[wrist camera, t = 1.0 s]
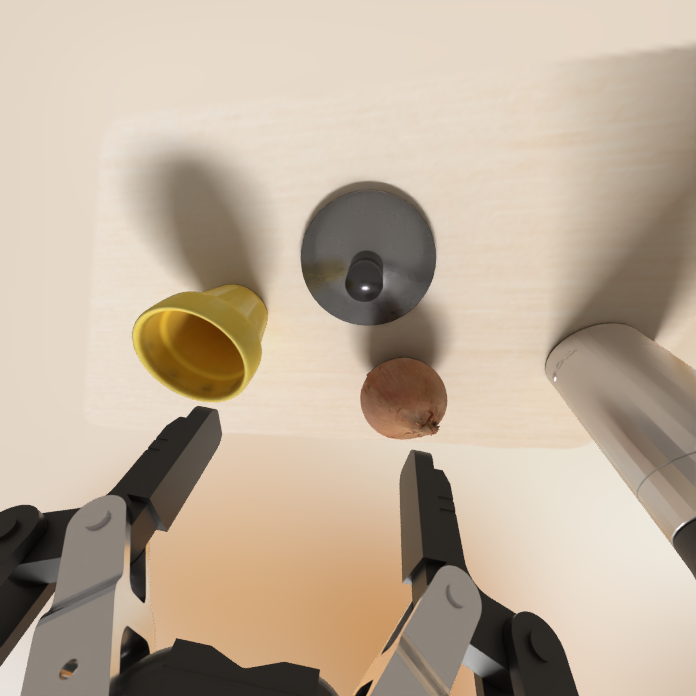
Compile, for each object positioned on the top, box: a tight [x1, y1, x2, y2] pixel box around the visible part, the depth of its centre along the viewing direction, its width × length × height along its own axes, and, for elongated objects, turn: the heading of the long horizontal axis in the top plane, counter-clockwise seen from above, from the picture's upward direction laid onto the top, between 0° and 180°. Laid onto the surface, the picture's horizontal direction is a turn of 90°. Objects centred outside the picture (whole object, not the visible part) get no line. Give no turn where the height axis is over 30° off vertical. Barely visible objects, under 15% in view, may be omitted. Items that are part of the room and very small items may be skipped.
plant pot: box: [132, 284, 267, 402], centre depth 28 cm, size 10×10×10 cm
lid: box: [301, 190, 436, 325], centre depth 25 cm, size 13×13×6 cm
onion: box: [360, 358, 447, 439], centre depth 31 cm, size 10×9×10 cm
